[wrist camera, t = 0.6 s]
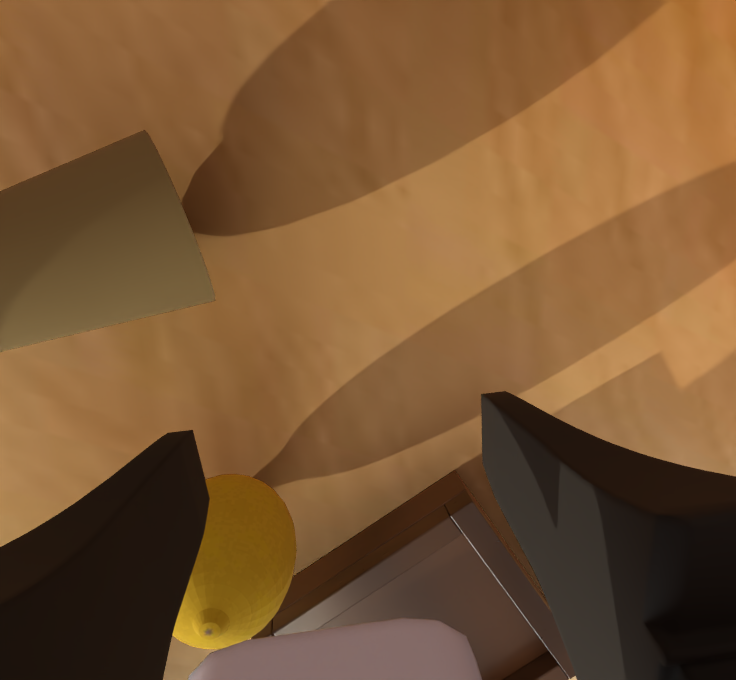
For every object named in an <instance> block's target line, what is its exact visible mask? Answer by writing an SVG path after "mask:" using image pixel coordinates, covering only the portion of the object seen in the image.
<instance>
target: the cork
mask: <svg viewBox="0 0 736 680" xmlns="http://www.w3.org/2000/svg"><path fill="white" fill-rule="evenodd" d="M212 301H215V293H214V290H213V287H212V283H211V280H210V277H209V274H208V271H207V268H206V266H205V263H204V260H203V257H202V255H201V252H200V249H199V247H198V244H197V242H196V239H195V236H194V234H193V231H192V229H191V226H190V224H189V221H188V219H187V217H186V214H185V212H184V209H183V207H182V204H181V202H180V200H179V197H178V195H177V193H176V190H175V188H174V186H173V184H172V181H171V179H170V177H169V174H168V172H167V170H166V168H165V166H164V164H163V162H162V159H161V157H160V155H159V153H158V151H157V149H156V147H155V145H154V143H153V141H152V140H151V138H150V136H149V134H148V133H147V132H146V131H145V130H143V131H141V132H139V133H136V134H134V135H132V136H129V137H127V138H125V139H122V140H120V141H117V142H115V143H113V144H110V145H108V146H106V147H103V148H101V149H99V150H96V151H94V152H92V153H89V154H87V155H84V156H82V157H80V158H77V159H75V160H73V161H70V162H68V163H66V164H63V165H61V166H59V167H56V168H54V169H51V170H49V171H47V172H44V173H42V174H40V175H37V176H35V177H33V178H30V179H28V180H26V181H23V182H21V183H18V184H16V185H14V186H11V187H9V188H7V189H4V190H2V191H0V352H2V351H6V350H11V349H15V348H19V347H23V346H27V345H32V344H36V343H40V342H44V341H48V340H53V339H57V338H61V337H65V336H69V335H74V334H78V333H82V332H86V331H90V330H94V329H99V328H103V327H107V326H111V325H115V324H120V323H124V322H128V321H132V320H136V319H141V318H145V317H149V316H153V315H157V314H162V313H166V312H170V311H174V310H178V309H183V308H187V307H191V306H195V305H199V304H204V303H208V302H212Z"/></svg>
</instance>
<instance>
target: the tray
mask: <svg viewBox="0 0 736 680" xmlns="http://www.w3.org/2000/svg"><path fill="white" fill-rule="evenodd" d="M399 618H412V619H429V620H438V621H441V622H442V623H444V624H446V625H448V626H449V627H451V628H453V629H455V630H456V631H458V632H460V633H461V634H463V635H465V636H466V637H467V640H468V642H469V644H470V647H471V649H472V651H473V654H474V656H475V658H476V661H477V665H478V668H479V671H480V675H481V678H482V680H568V679H571V678H572V677H574V676H576V675H575V672H574V669H573V667H572V664H571V661H570V659H569V656H568V654H567V651H566V648H565V646H564V643H563V640H562V638H561V635H560V633H559V630H558V627H557V625H556V622H555V620H554V617H553V615H552V612H551V610H550V607H549V605H548V602H547V600H546V599H545V597H544V596H543V594H542V593H541V592H540V590H539V589H538V587H537V586H536V584H535V583H534V582H533V580H532V579H531V577H530V576H529V574H528V573H527V572H526V570H525V569H524V567H523V566H522V565H521V563H520V562H519V560H518V559H517V557H516V556H515V555H514V553H513V552H512V550H511V549H510V547H509V546H508V545H507V543H506V542H505V540H504V539H503V538H502V536H501V535H500V533H499V532H498V530H497V529H496V528H495V526H494V525H493V523H492V522H491V520H490V519H489V518H488V516H487V515H486V513H485V512H484V511H483V509H482V508H481V506H480V505H479V503H478V502H477V501H476V499H475V498H474V496H473V495H472V493H471V492H470V491H469V489H468V488H467V486H466V485H465V484H464V482H463V481H462V479H461V478H460V476H459V475H458V474H457V472H456V471H453V472H451V473H450V474H448V475H447V476H445V477H444V478H442V479H441V480H439V481H438V482H436V483H435V484H433V485H432V486H430V487H429V488H427V489H426V490H424V491H423V492H421V493H420V494H418V495H417V496H415V497H414V498H412V499H410V500H409V501H407V502H406V503H404V504H403V505H401V506H400V507H398V508H397V509H395V510H394V511H392V512H391V513H389V514H388V515H386V516H385V517H383V518H382V519H380V520H379V521H377V522H376V523H374V524H373V525H371V526H370V527H368V528H367V529H365V530H364V531H362V532H361V533H359V534H358V535H356V536H355V537H353V538H352V539H350V540H348V541H347V542H345V543H344V544H342V545H341V546H339V547H338V548H336V549H335V550H333V551H332V552H330V553H329V554H327V555H326V556H324V557H323V558H321V559H320V560H318V561H317V562H315V563H314V564H312V565H311V566H309V567H308V568H306V569H305V570H303V571H302V572H300V573H299V574H297V575H296V576H294V577H293V578H292V580H291V583H290V586H289V589H288V591H287V593H286V595H285V597H284V600H283V602H282V604H281V606H280V608H279V610H278V611H277V613H276V614H275V616H274V617H273V618H272V619H271V620H270V622H269V623H268V624H267V625H266V626H265V627H264V628H263V629H262V630H261V631H260V632H258V633H257V634H255V635H254V636H253V637H251V639H258V638H265V637H272V636H279V635H286V634H293V633H300V632H307V631H314V630H321V629H328V628H336V627H343V626H350V625H357V624H364V623H371V622H378V621H385V620H392V619H399ZM568 677H569V678H568Z"/></svg>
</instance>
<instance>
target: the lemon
mask: <svg viewBox="0 0 736 680" xmlns="http://www.w3.org/2000/svg"><path fill="white" fill-rule="evenodd" d="M205 481H206V485H207V489H208V493H209V497H210V501H209V507H208V514H207V520H206V525H205V531H204V536H203V539H202V542H201V545H200V549H199V552H198V555H197V558H196V561H195V564H194V567H193V571H192V574H191V577H190V580H189V583H188V586H187V589H186V592H185V595H184V598H183V601H182V604H181V607H180V610H179V613H178V616H177V620H176V623H175V627H174V630H173V634H172V635H173V636H174V637H175V638H177V639H178V640H179V641H181V642H183V643H185V644H188V645H190V646H192V647H197V648H202V649H222V648H226V647H228V646H231V645H234V644H237V643H240V642H243V641H246V640H248V639H250V638H251V637H253V636H254V635H255V634H257V633H258V632H260V631H261V630H262V629H263V628H264V627H265V626H266V625H267V624H268V623H269V622H270V620H271V619H272V618H273V617H274V616H275V614H276V613H277V611H278V610H279V608H280V606H281V604H282V602H283V600H284V597H285V595H286V593H287V591H288V589H289V586H290V583H291V580H292V576H293V571H294V565H295V559H296V551H297V549H296V538H295V530H294V524H293V521H292V518H291V516H290V514H289V511H288V509H287V507H286V505H285V503H284V502H283V500H282V499H281V498H280V497H279V495H278V494H277V493H276V492H275V491H274V490H273V489H272V488H271V487H269V486H268V485H266V484H265V483H264V482H262V481H260V480H257V479H255V478H252V477H250V476H245V475H239V474H227V475H218V476H215V477H212V478H208V479H205Z"/></svg>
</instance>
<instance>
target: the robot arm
mask: <svg viewBox="0 0 736 680" xmlns="http://www.w3.org/2000/svg"><path fill="white" fill-rule="evenodd" d="M481 409H482V461H483V466H484V469H485V472H486V475H487V478H488V480H489V483H490V486H491V488H492V491H493V494H494V496H495V498H496V500H497V502H498V504H499V506H500V508H501V510H502V512H503V514H504V516H505V518H506V520H507V522H508V523H509V525H510V527H511V529H512V531H513V533H514V535H515V537H516V538H517V540H518V542H519V544H520V546H521V548H522V550H523V552H524V553H525V555H526V557H527V559H528V561H529V563H530V565H531V567H532V568H533V570H534V573H535V575H536V577H537V579H538V581H539V583H540V585H541V587H542V590H543V592H544V595H545V597H546V600H547V602H548V605H549V607H550V610H551V612H552V615H553V617H554V620H555V622H556V625H557V627H558V630H559V633H560V635H561V638H562V640H563V643H564V646H565V648H566V651H567V654H568V656H569V659H570V661H571V664H572V667H573V669H574V672H575V675H576V678H577V680H736V477H735V476H730V475H725V474H719V473H714V472H709V471H704V470H700V469H695V468H691V467H687V466H682V465H679V464H675V463H671V462H668V461H664V460H660V459H657V458H653V457H650V456H647V455H643V454H640V453H637V452H634V451H631V450H629V449H626V448H623V447H620V446H618V445H615V444H612V443H610V442H607V441H605V440H602V439H600V438H597V437H595V436H593V435H591V434H588V433H586V432H584V431H582V430H580V429H577V428H575V427H573V426H571V425H569V424H567V423H565V422H563V421H561V420H559V419H557V418H555V417H553V416H552V415H550V414H548V413H546V412H544V411H542V410H540V409H539V408H537V407H535V406H533V405H531V404H529V403H528V402H526V401H524V400H522V399H520V398H518V397H516V396H515V395H513V394H510V393H508V392H506V391H503V392H495V393H487V394H481ZM209 501H210V497H209V493H208V489H207V485H206V481H205V477H204V473H203V469H202V465H201V461H200V457H199V453H198V449H197V445H196V441H195V437H194V433H193V430H188V431H180V432H172V433H167V434H166V435H164V436H162V437H161V438H160V439H158V440H157V441H156V442H154V443H153V444H152V445H150V446H149V447H148V448H147V449H145V450H144V451H143V452H142V453H140V454H139V455H138V456H137V457H135V458H134V459H133V460H132V461H130V462H129V463H128V464H126V465H125V466H124V467H123V468H121V469H120V470H119V471H118V472H116V473H115V474H114V475H113V476H111V477H110V478H109V479H107V480H106V481H105V482H103V483H102V484H100V485H99V486H98V487H96V488H95V489H94V490H92V491H91V492H90V493H88V494H87V495H85V496H84V497H83V498H81V499H80V500H79V501H77V502H76V503H74V504H73V505H71V506H70V507H68V508H67V509H65V510H64V511H62V512H61V513H59V514H58V515H56V516H55V517H53V518H51V519H50V520H48V521H46V522H45V523H43V524H41V525H40V526H38V527H37V528H35V529H33V530H31V531H30V532H28V533H26V534H24V535H22V536H21V537H19V538H17V539H15V540H13V541H11V542H9V543H7V544H5V545H4V546H2V547H0V680H163V675H164V671H165V666H166V661H167V656H168V652H169V647H170V642H171V638H172V634H173V630H174V627H175V623H176V620H177V616H178V613H179V610H180V607H181V604H182V601H183V598H184V595H185V592H186V589H187V586H188V583H189V580H190V577H191V574H192V571H193V567H194V564H195V561H196V558H197V555H198V552H199V549H200V545H201V542H202V539H203V536H204V531H205V525H206V520H207V514H208V507H209ZM188 680H482V678H481V675H480V671H479V668H478V665H477V661H476V658H475V656H474V654H473V651H472V649H471V647H470V644H469V642H468V640H467V637H466V636H465V635H463V634H461V633H460V632H458V631H456V630H455V629H453V628H451V627H449V626H448V625H446V624H444V623H442V622H441V621H438V620H429V619H412V618H399V619H392V620H385V621H378V622H371V623H364V624H357V625H350V626H343V627H336V628H328V629H321V630H314V631H307V632H300V633H293V634H286V635H279V636H272V637H265V638H258V639H250V640H246V641H243V642H240V643H237V644H234V645H231V646H228V647H226V648H223V649H220V650H217V651H215V652H212V653H210V654H209V655H208V656H207V657H206V658H205V659H204V660H203V661H202V662H201V663H200V665H199V666H198V667H197V668H196V669H195V670H194V671H193V672H192V673H191V674H190V675H189V677H188Z"/></svg>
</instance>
